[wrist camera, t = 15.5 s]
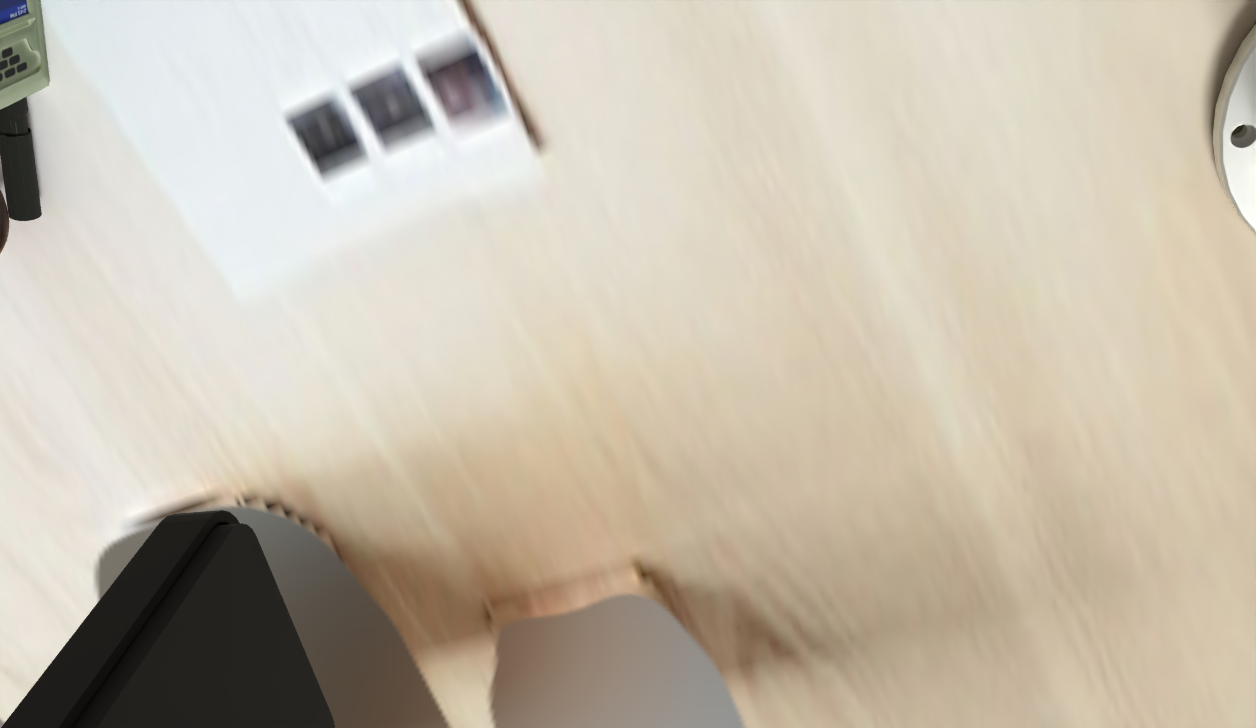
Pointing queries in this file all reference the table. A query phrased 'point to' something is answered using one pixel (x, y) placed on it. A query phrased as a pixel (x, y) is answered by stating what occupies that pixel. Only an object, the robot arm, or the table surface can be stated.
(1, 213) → the tin
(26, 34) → the handheld radio
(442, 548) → the table surface
